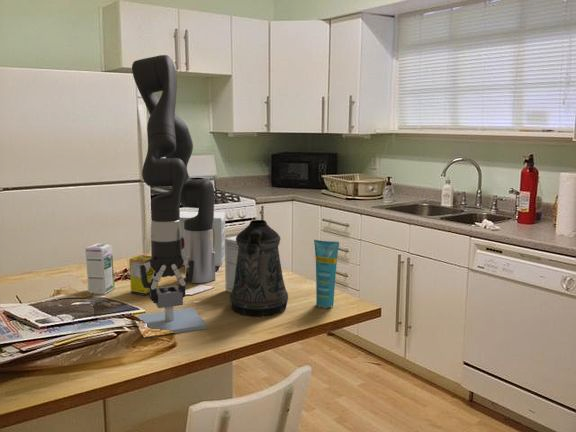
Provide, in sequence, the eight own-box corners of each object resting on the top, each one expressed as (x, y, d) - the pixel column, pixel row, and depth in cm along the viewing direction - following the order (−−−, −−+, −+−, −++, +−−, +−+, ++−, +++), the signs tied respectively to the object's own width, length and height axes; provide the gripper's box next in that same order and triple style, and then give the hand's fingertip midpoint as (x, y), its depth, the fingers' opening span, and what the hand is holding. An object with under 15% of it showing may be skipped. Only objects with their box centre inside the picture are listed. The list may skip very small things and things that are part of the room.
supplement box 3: (267, 290, 169) (267, 238, 166) (245, 297, 163) (245, 242, 160) (246, 284, 176) (246, 233, 173) (224, 290, 169) (223, 237, 166)
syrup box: (105, 294, 164) (102, 248, 161) (87, 293, 165) (84, 246, 162) (115, 289, 169) (112, 243, 167) (97, 287, 170) (95, 242, 168)
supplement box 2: (174, 266, 196) (173, 217, 193) (181, 257, 209) (180, 210, 206) (222, 266, 196) (221, 217, 193) (226, 257, 209) (225, 211, 206)
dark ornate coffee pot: (276, 295, 165) (277, 214, 160) (300, 317, 147) (301, 226, 142) (223, 301, 159) (222, 217, 155) (241, 324, 141) (240, 230, 137)
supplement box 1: (158, 290, 168) (157, 256, 166) (146, 296, 163) (144, 261, 161) (143, 288, 171) (142, 254, 169) (130, 293, 165) (128, 258, 163)
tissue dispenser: (177, 297, 144) (176, 285, 144) (182, 305, 139) (182, 291, 138) (153, 300, 142) (153, 287, 141) (158, 308, 136) (158, 294, 136)
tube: (310, 306, 155) (311, 241, 152) (314, 301, 160) (316, 237, 156) (336, 309, 153) (337, 243, 149) (339, 304, 157) (341, 239, 154)
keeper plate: (192, 310, 151) (191, 281, 149) (207, 328, 138) (206, 296, 137) (133, 319, 144) (132, 288, 143) (143, 338, 132) (141, 305, 130)
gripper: (190, 232, 144) (191, 293, 146) (134, 236, 138) (136, 299, 140) (197, 237, 137) (199, 301, 140) (139, 242, 131) (142, 308, 134)
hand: (167, 300), depth 140 cm, fingers closed on tissue dispenser, 6 cm apart
